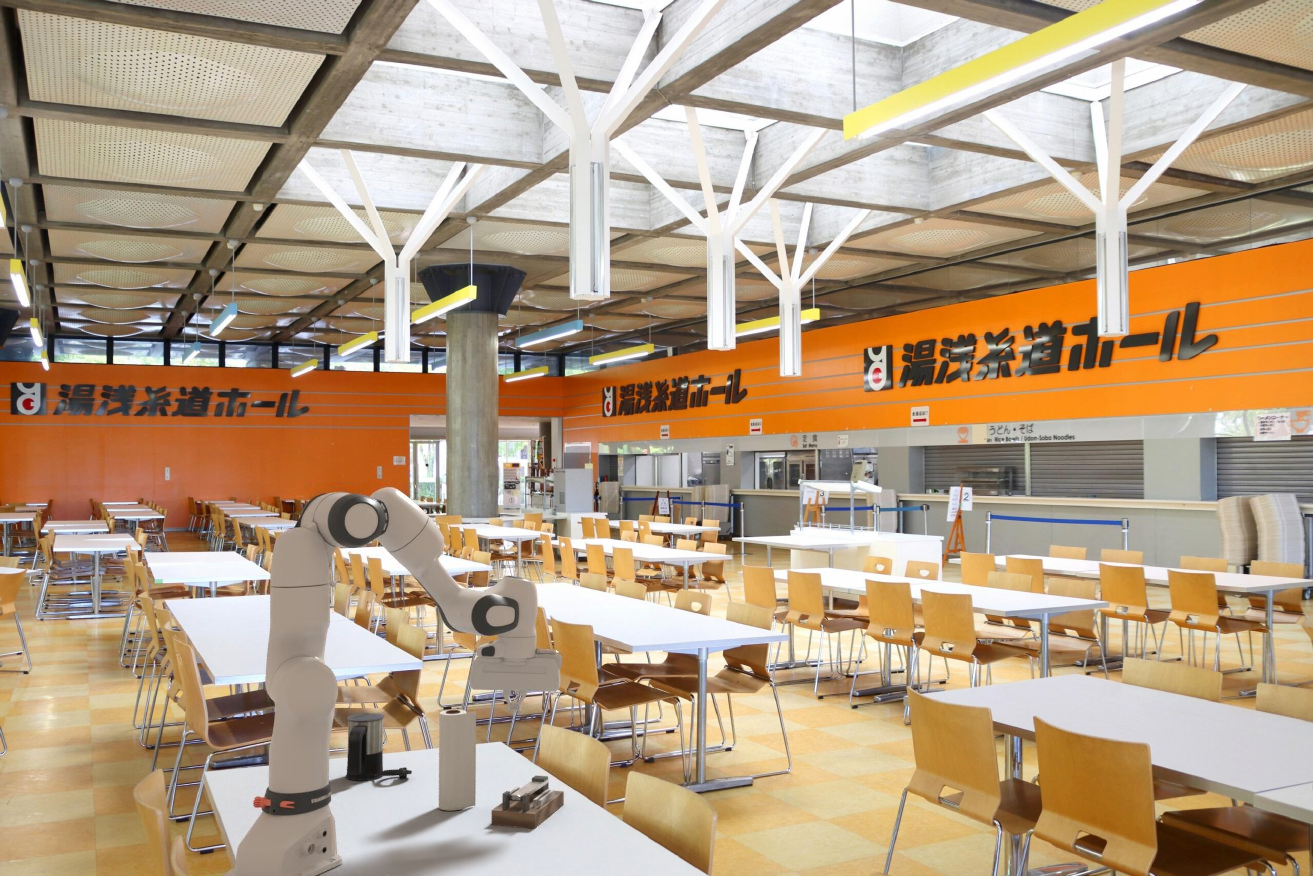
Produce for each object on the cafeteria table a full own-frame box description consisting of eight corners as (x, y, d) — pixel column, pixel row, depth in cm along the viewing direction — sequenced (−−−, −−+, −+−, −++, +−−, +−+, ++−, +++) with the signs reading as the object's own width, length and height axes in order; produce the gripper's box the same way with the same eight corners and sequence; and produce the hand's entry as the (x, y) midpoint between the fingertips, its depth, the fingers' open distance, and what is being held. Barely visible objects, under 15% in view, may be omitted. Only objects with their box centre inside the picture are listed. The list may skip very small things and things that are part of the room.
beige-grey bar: (521, 802, 216) (521, 794, 216) (508, 801, 217) (508, 793, 217) (548, 783, 231) (548, 776, 231) (536, 782, 232) (536, 775, 232)
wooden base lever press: (535, 828, 214) (535, 797, 215) (491, 824, 217) (491, 793, 217) (563, 804, 231) (563, 775, 231) (522, 801, 233) (523, 772, 234)
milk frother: (346, 772, 258) (347, 713, 259) (410, 768, 262) (410, 709, 263) (345, 788, 244) (345, 725, 245) (412, 783, 249) (413, 721, 249)
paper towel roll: (432, 809, 228) (433, 712, 229) (450, 802, 233) (451, 707, 234) (458, 814, 224) (459, 715, 225) (475, 806, 230) (476, 710, 231)
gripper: (563, 647, 232) (561, 709, 231) (474, 645, 233) (472, 706, 232) (561, 651, 226) (559, 714, 225) (469, 649, 226) (467, 712, 225)
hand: (514, 710), depth 228 cm, fingers closed
